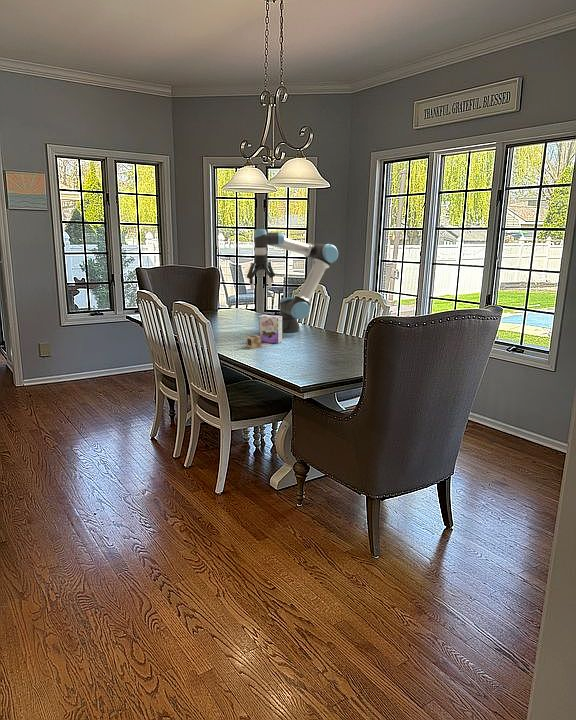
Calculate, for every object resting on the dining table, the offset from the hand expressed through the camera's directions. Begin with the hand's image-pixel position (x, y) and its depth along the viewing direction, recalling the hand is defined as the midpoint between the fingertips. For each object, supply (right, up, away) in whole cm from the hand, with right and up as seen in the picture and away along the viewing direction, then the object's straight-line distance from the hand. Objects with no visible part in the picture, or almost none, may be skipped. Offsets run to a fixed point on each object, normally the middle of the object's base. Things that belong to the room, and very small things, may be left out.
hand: (261, 288), depth 337 cm
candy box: (+6, -34, -6) cm, 36 cm away
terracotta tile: (-3, -38, -20) cm, 43 cm away
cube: (-3, -37, -20) cm, 43 cm away
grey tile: (+3, -36, -16) cm, 40 cm away
